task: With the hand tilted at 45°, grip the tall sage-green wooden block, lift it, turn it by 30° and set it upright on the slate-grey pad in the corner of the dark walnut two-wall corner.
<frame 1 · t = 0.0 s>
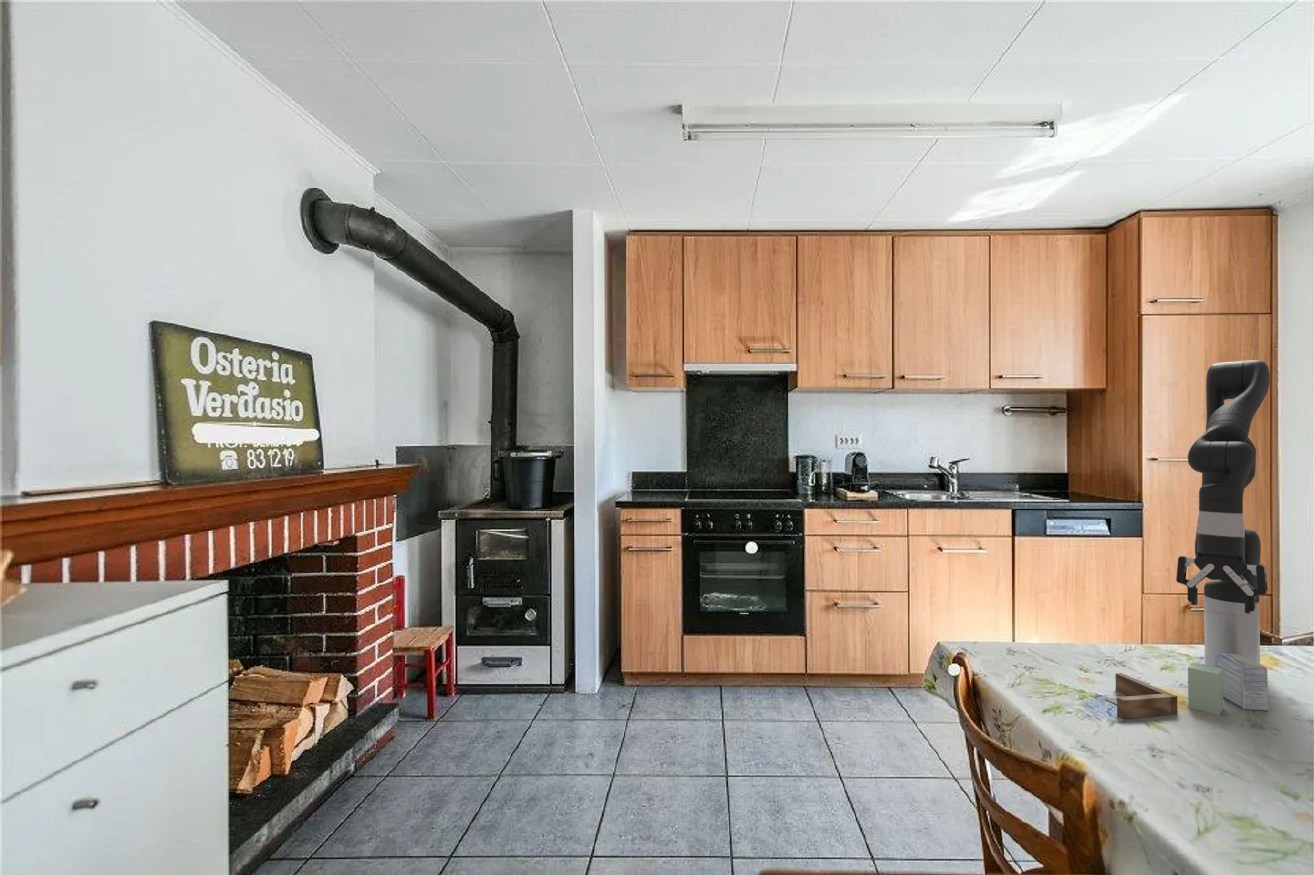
hand: (1220, 608, 130), 17 cm above the table, tool pointing down, fingers open, 8 cm apart
medicine box: (1241, 703, 123), on the table
sage block: (1205, 707, 121), on the table
walnut corner: (1129, 704, 122), on the table
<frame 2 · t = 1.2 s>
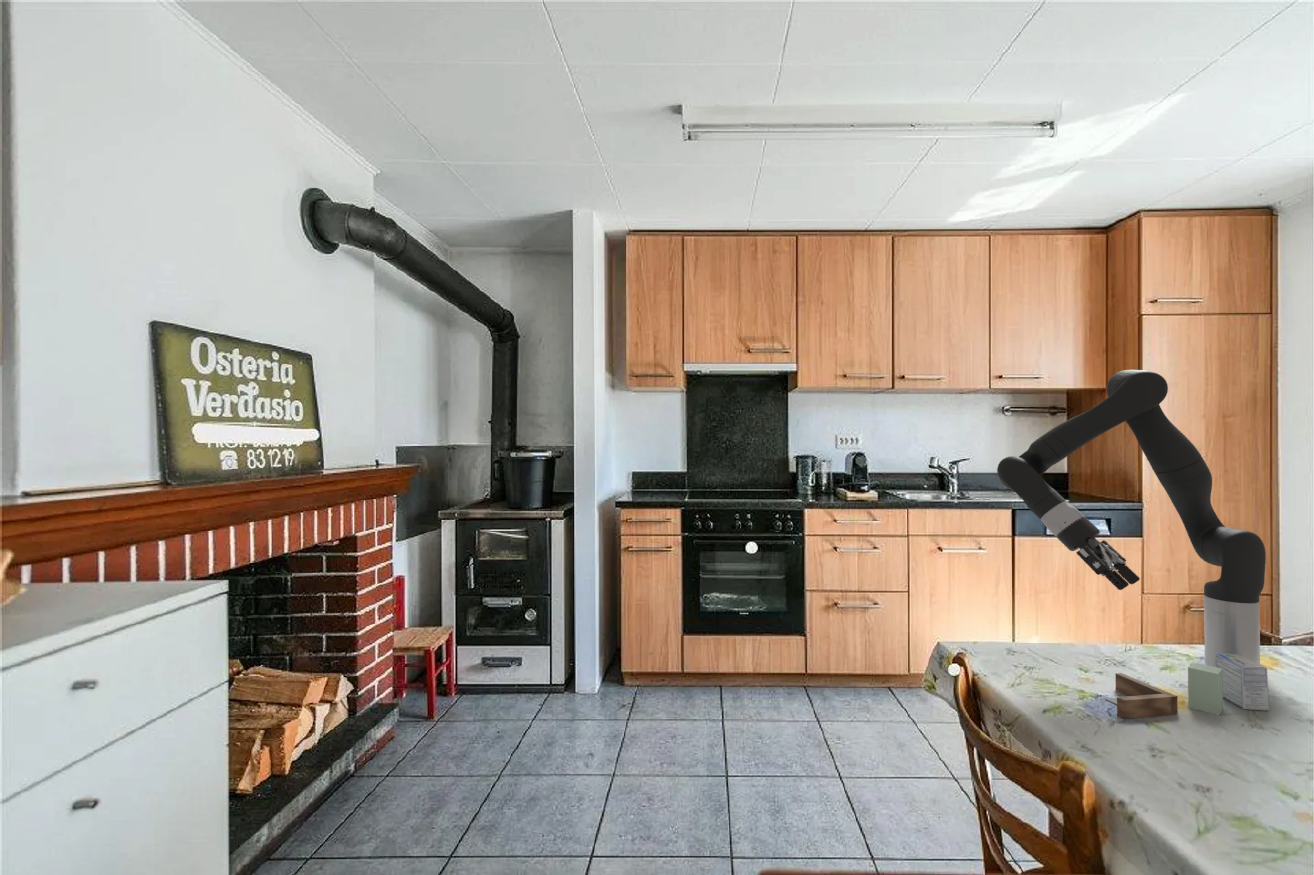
hand: (1130, 584, 130), 22 cm above the table, tool tilted 45°, fingers open, 8 cm apart
nothing on the table moved.
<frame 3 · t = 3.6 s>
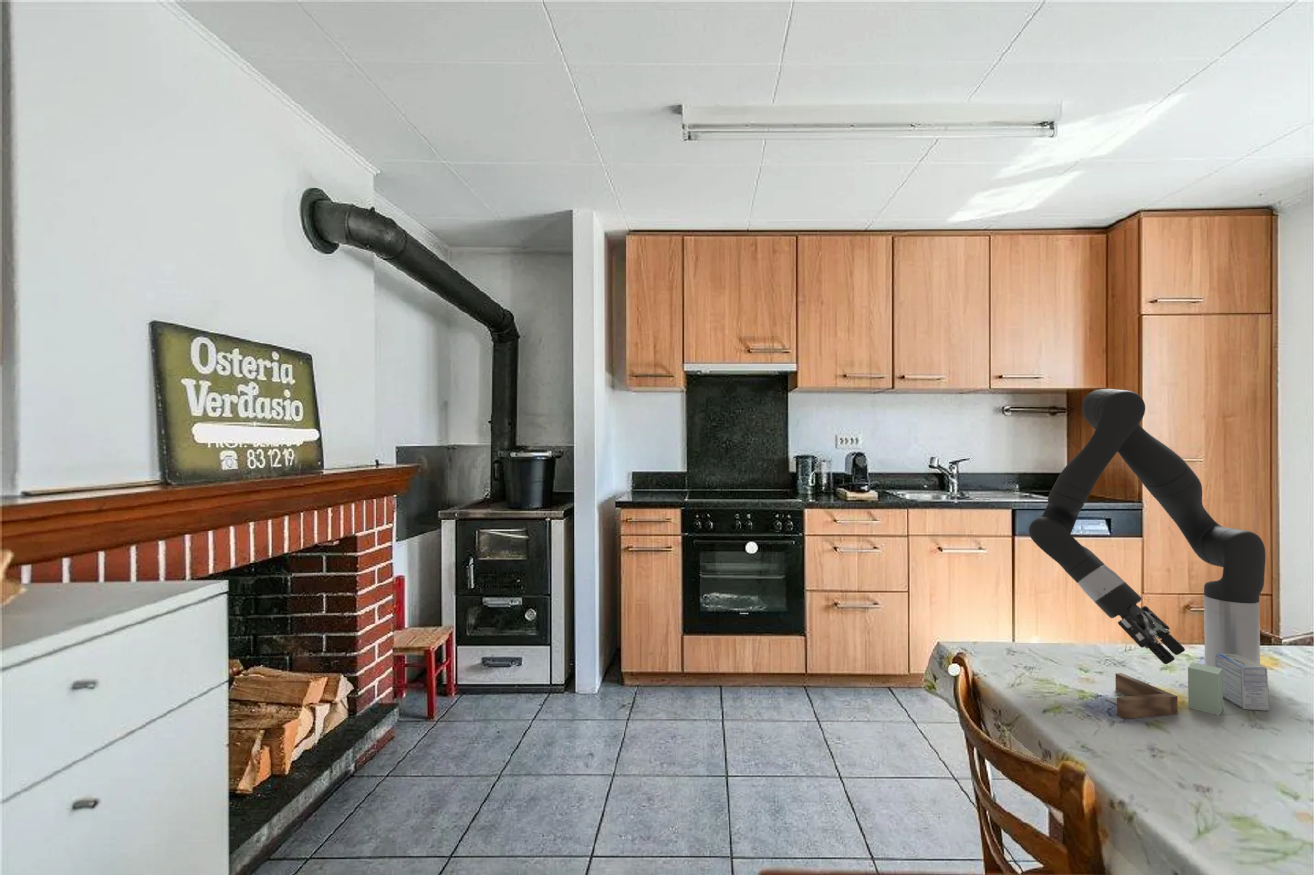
hand: (1175, 657, 124), 9 cm above the table, tool tilted 45°, fingers open, 8 cm apart
nothing on the table moved.
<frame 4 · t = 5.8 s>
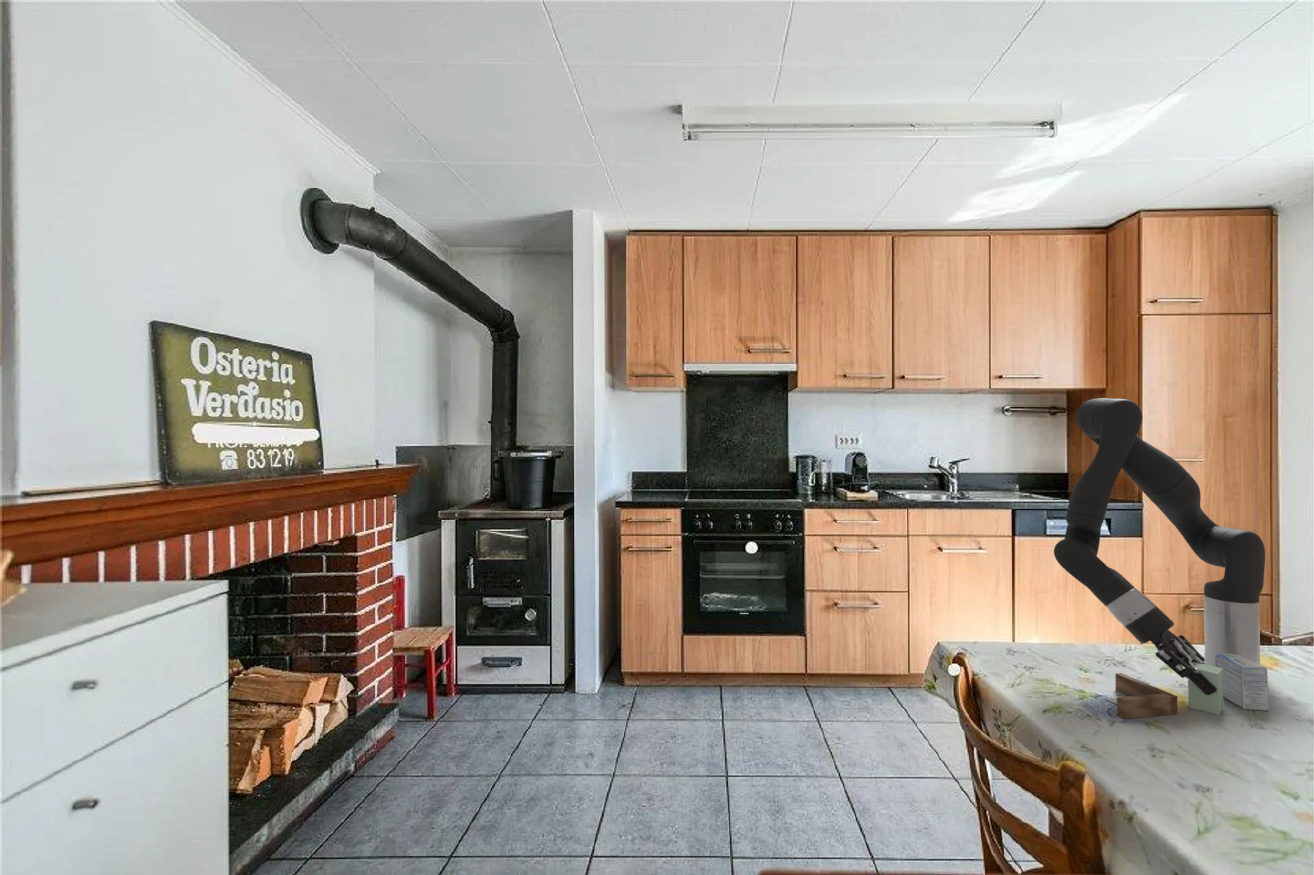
hand: (1215, 689, 120), 4 cm above the table, tool tilted 45°, fingers closed on sage block, 4 cm apart
sage block: (1205, 707, 121), on the table, touching gripper
everything else where it was.
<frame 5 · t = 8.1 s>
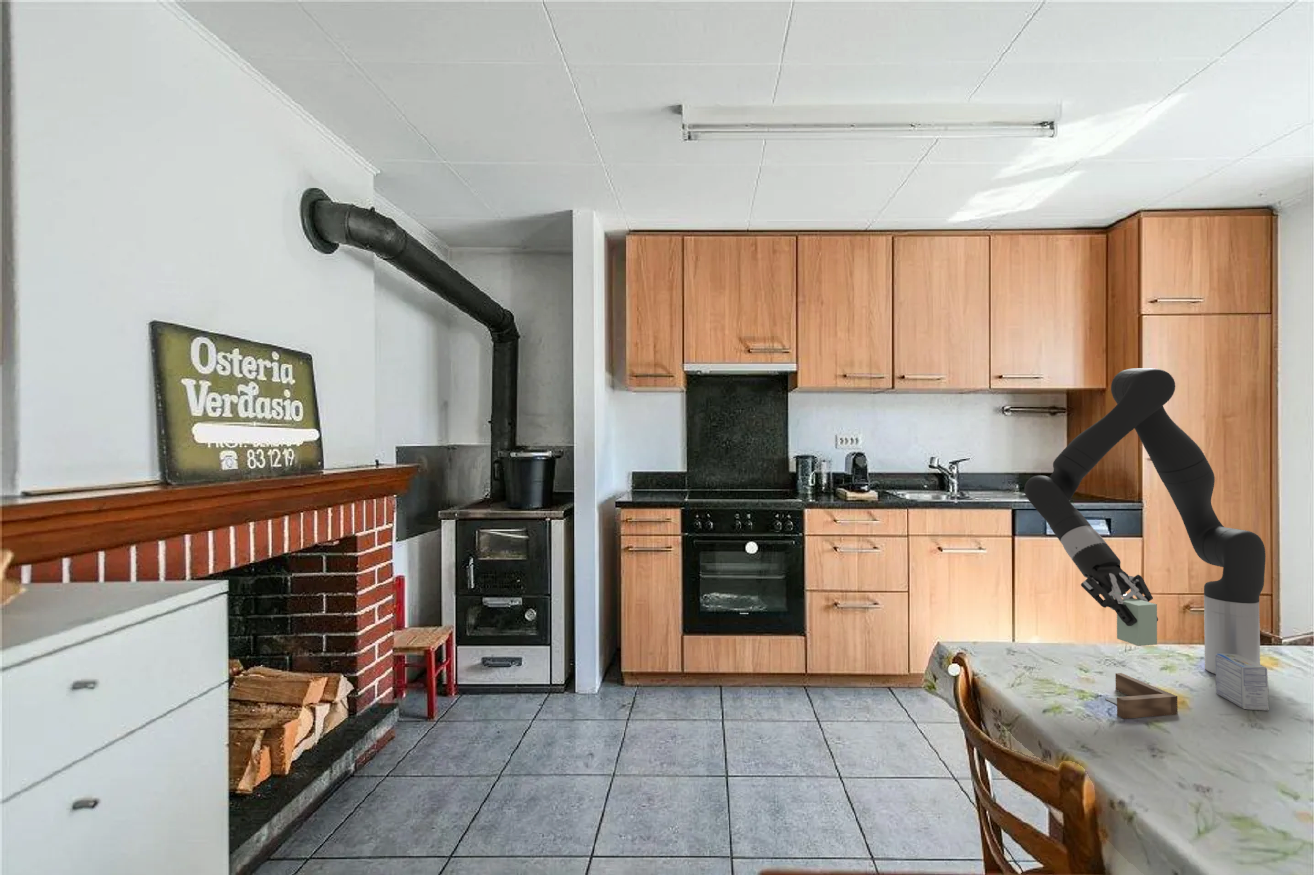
hand: (1143, 622, 121), 17 cm above the table, tool tilted 45°, fingers closed on sage block, 4 cm apart
sage block: (1136, 641, 122), point 13 cm above the table, touching gripper
everything else where it was.
when the fingers open (5 cm above the table, at t = 10.9 s): sage block stays where it is, resting on walnut corner.
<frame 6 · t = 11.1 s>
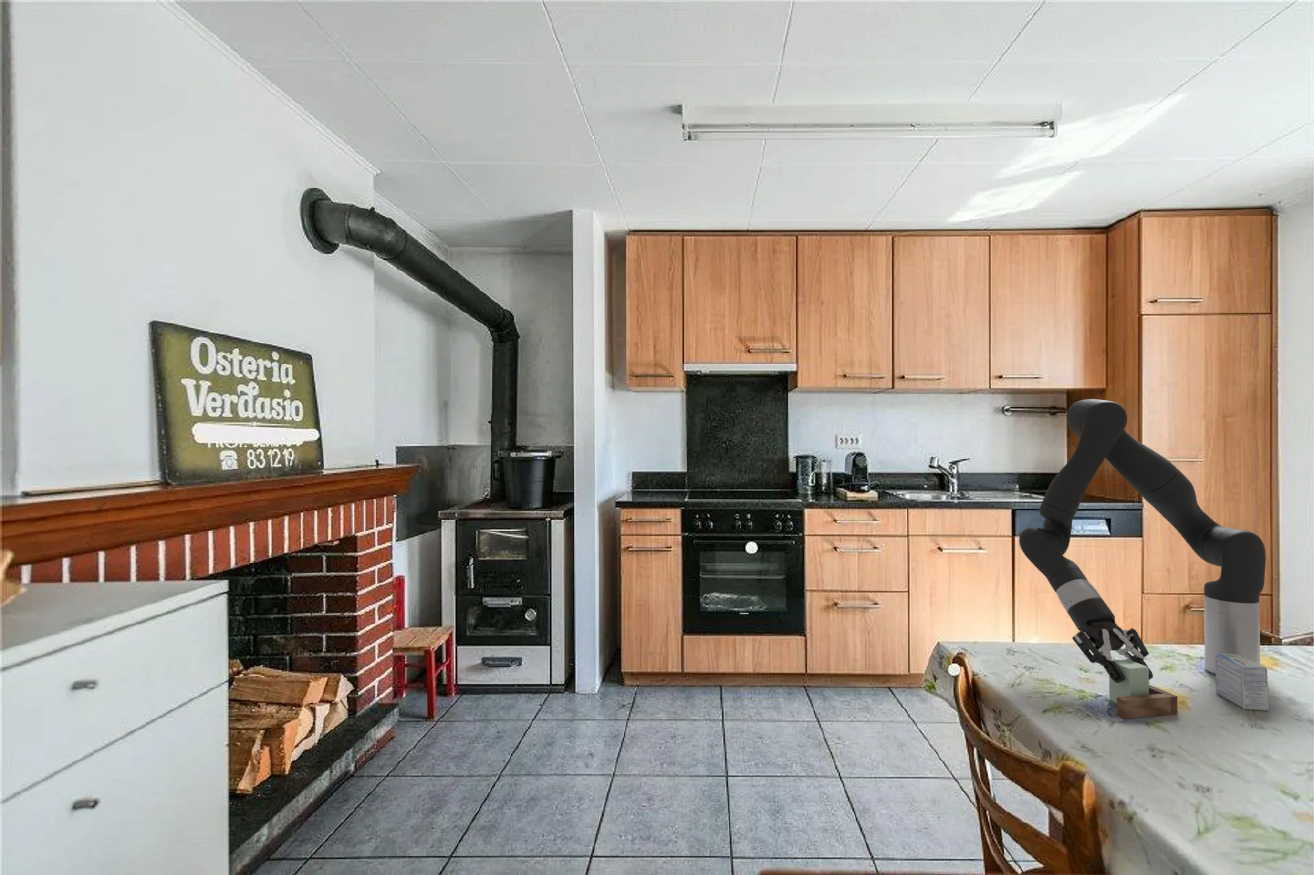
hand: (1134, 679, 121), 5 cm above the table, tool tilted 45°, fingers open, 6 cm apart
sage block: (1128, 703, 122), resting on walnut corner
everything else where it was.
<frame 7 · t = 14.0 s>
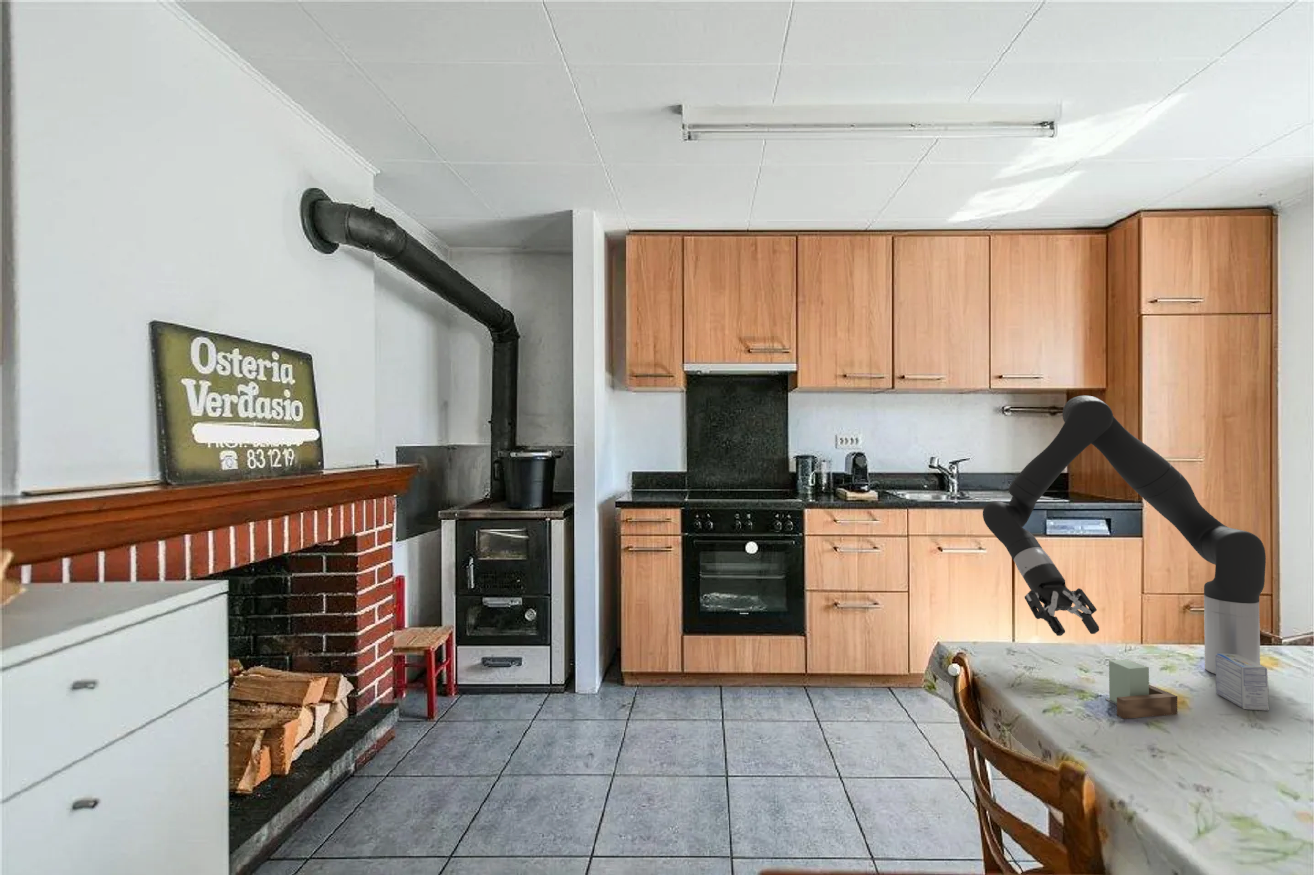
hand: (1078, 633, 134), 11 cm above the table, tool tilted 45°, fingers open, 8 cm apart
nothing on the table moved.
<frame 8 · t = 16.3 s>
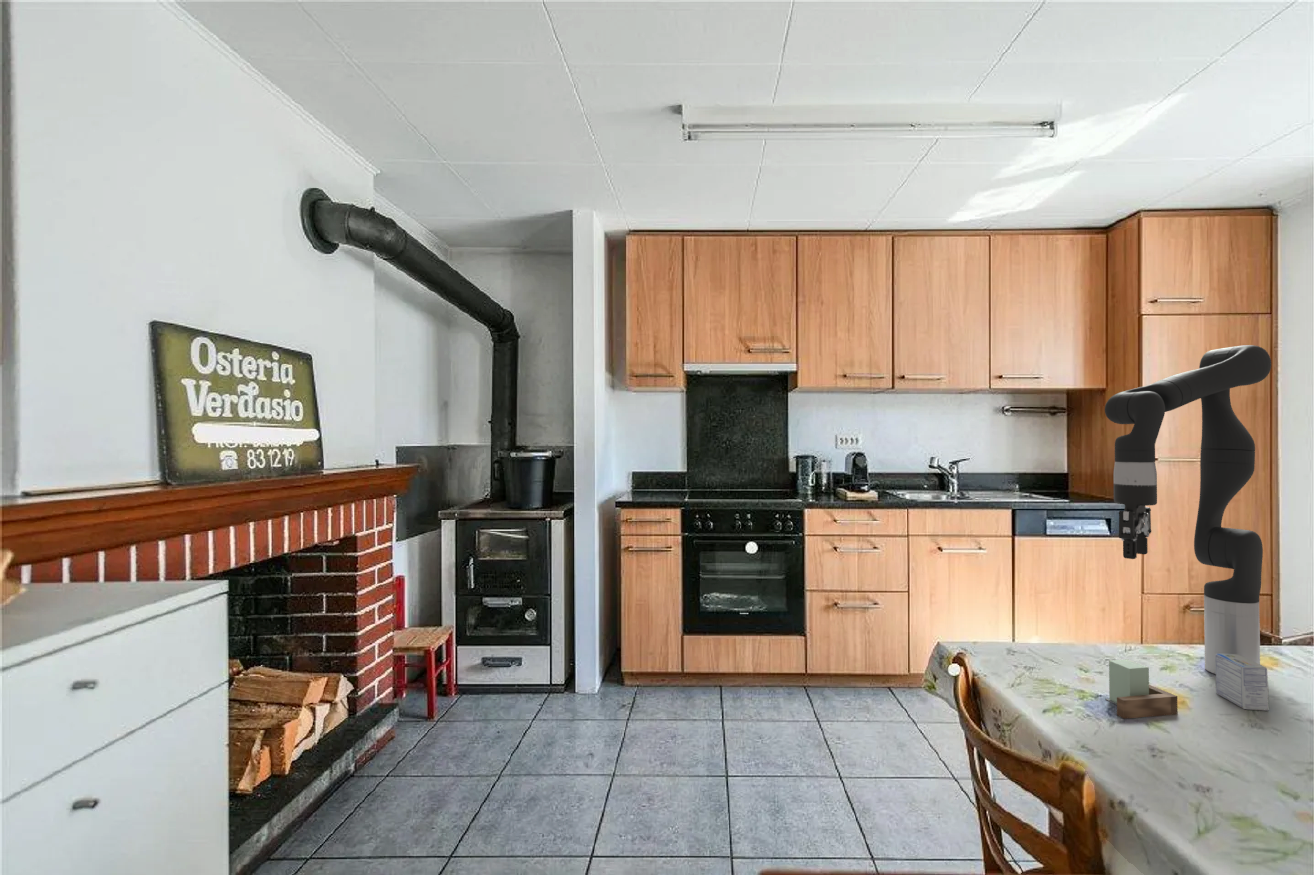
hand: (1135, 556, 133), 28 cm above the table, tool pointing down, fingers open, 8 cm apart
nothing on the table moved.
at the end: sage block 0.1 cm off-centre on the walnut corner, point 0.2 cm above the walnut corner's base; sage block tilted 0°; the gripper is holding nothing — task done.
